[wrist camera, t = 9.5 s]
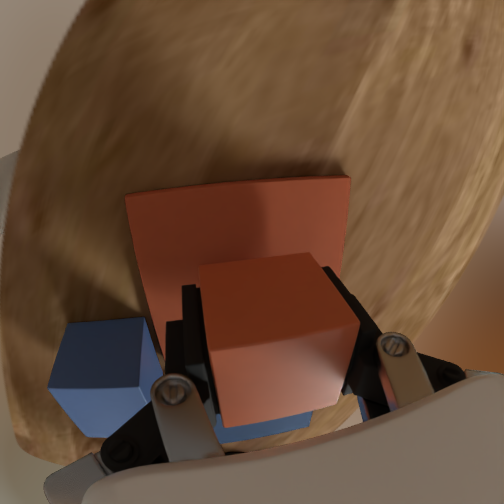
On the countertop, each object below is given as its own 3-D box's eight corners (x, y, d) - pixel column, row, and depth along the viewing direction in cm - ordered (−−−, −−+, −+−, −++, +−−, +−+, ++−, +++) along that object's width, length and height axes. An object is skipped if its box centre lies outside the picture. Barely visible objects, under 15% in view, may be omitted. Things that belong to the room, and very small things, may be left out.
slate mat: (196, 442, 20) (197, 446, 20) (171, 376, 16) (171, 381, 16) (307, 422, 22) (309, 426, 22) (323, 350, 17) (325, 355, 17)
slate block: (95, 376, 15) (86, 437, 11) (67, 322, 13) (46, 388, 9) (163, 372, 16) (165, 436, 12) (144, 316, 14) (138, 386, 10)
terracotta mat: (165, 358, 15) (165, 364, 15) (125, 194, 11) (123, 197, 11) (326, 333, 17) (329, 337, 16) (347, 174, 12) (351, 177, 12)
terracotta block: (210, 346, 13) (223, 428, 9) (197, 264, 11) (207, 350, 7) (302, 332, 14) (337, 404, 10) (309, 251, 12) (361, 322, 8)
